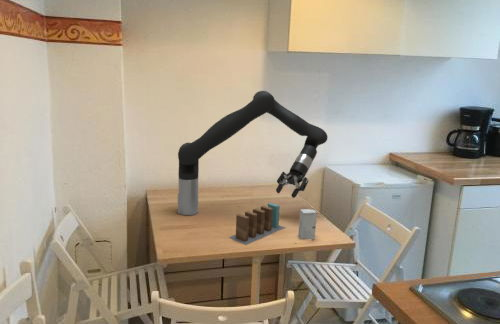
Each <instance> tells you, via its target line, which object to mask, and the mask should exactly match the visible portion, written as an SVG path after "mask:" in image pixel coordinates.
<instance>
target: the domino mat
mask: <svg viewBox="0 0 500 324" xmlns="http://www.w3.org/2000/svg"><path fill="white" fill-rule="evenodd" d="M284 229H286V227H285V226H282V225H280V224H279V227H278V228H273V227H272V229H271V231H269V232H268V231H266V230H264V234H262V235H260V234H257V233H256V237H255V238H251V237H249V236H248V241H245V242H244V241H242V240H239V239H237V238H236V234H234V235H230V236H228V239H230V240H233V241H235V242H238V243H240V244H242V245H245V246H248V245H250V244H252V243H254V242H256V241H258V240H261V239H264V238H265V237H268V236H270V235H273V234H275V233H277V232H279V231H282V230H284Z"/></svg>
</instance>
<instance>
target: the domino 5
mask: <svg viewBox="0 0 500 324" xmlns="http://www.w3.org/2000/svg"><path fill="white" fill-rule="evenodd" d="M267 207H270V208H272V227H273V228H278V227H279V225H280V204H275V203H272V202H270V203H267Z"/></svg>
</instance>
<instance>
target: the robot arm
mask: <svg viewBox="0 0 500 324" xmlns="http://www.w3.org/2000/svg"><path fill="white" fill-rule="evenodd" d="M265 114H269V115H270V116H273V117H274V118H276V119H277V121H278V120H279V121H280V122H281V123H283V125H285V126H286V127H287V128H289V129H290V130H291V131H293V132H294V133H296V134H298V135H299V136H301V137H306V139H305V141H304V144H303V147H302V148H301V150H300V152H299V154H298V155H297V157H296V158H295V160H294V162H293V163H292V165H291V167H290V169H289V171H288V172H287V173H286V172H285V171H282V172H281V173H280V175H279V176H278V178H277V180H276V183H277V184H278V185H277V187H276V189H275V192H276V193H277V194H280V193H281V191H282V190H283V188H284V186H286V185H287V186H288V185H293V186H295V188H294V189H293V191H292V192H291V197H292V199H294V198H296V197H297V196H298V194H299V192H305V190H306V187H307V185H308V183H309V180H308V178H307V177H306V175H307V173H308V172H309V169H311V167H312V163H313V162H314V159H315V158H316V157H317V153H318V151H317V148H318V147H319V146H320V145H323V144H325V143H327V141H328V138H329V137H328V134H327V132H326V131H325V130H324V129H323V128H321V127H319V126H316V125H314V124H312V123H309V122H308V121H306V120H305V119H304V118H302V117H300V116H299V115H298V114H296V113H294V112H293V111H291V110H289V109H288V108H286V107H284V105H282V104H280V103H279V102H278V101H277V100H276V99H275V97H274V96H273V95H272V94H271V93H270V92H269V91H267V90H259V91H257V92H256V93H255V94H254V95H253V97H252V100H251V101H250V102H248V103H247V104H246V105H245V106H243V107H241V108H240V109H238V110H236V111H233V112H230V113H229V114H226V115H225V116H224V117H221V118H220V119H219V120H218V121H217V122H215V123H213V125H212V126H210V127H209V128H208V129H207V130H206V131H205V132H204V133H203V134H202V135H201V136H200V137H198V138H197V139H195V140H194V141H192V142H185V143H182V144H181V146H179V149H178V153H177V158H178V172H177V173H178V174H177V175H178V193H177V214H179V215H183V216H194V215H197V214H199V166H200V164H199V163H200V162H199V160H200V159H201V158H202V157H203V156H204V155H206V154H207V153H208V152H209V151H211V150H212V149H214V148H216V147H218V146H219V145H221V144H222V143H224V142H225V141H227V140H229V139H230V138H232V137H233V136H235V135H236V134H238V132H240V131H241V130H243V128H245V127H246V126H247V125H249V124H250V123H251V122H252V121H254V120H256V119H257V118H260V117H261V116H263V115H265Z"/></svg>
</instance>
